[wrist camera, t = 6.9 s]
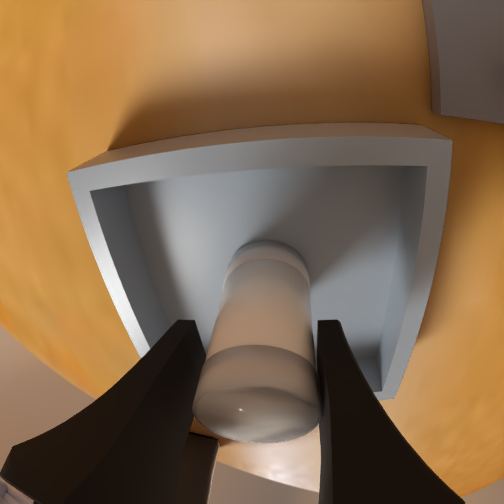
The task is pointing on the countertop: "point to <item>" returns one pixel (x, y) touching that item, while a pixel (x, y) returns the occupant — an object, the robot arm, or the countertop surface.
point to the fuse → (261, 350)
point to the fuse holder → (466, 58)
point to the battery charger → (197, 470)
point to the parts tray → (275, 227)
